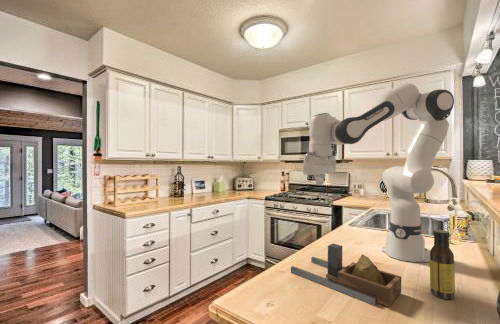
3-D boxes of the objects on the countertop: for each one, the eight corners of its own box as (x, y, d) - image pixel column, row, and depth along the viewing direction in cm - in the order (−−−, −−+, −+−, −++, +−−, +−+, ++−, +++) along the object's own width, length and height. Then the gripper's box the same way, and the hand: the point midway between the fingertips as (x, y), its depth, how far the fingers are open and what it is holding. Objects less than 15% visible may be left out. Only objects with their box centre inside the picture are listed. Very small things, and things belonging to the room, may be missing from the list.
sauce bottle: (457, 296, 80) (459, 232, 80) (450, 302, 76) (451, 235, 76) (433, 287, 85) (434, 227, 85) (425, 293, 81) (426, 230, 81)
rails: (312, 261, 106) (313, 256, 106) (392, 288, 85) (392, 282, 85) (290, 272, 96) (290, 266, 96) (375, 305, 74) (375, 298, 74)
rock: (397, 285, 82) (372, 268, 91) (388, 267, 79) (363, 251, 88) (374, 309, 80) (351, 289, 89) (363, 292, 77) (340, 273, 86)
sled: (337, 270, 97) (337, 241, 97) (401, 292, 81) (401, 257, 81) (321, 280, 89) (321, 248, 89) (388, 306, 73) (388, 267, 73)
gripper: (312, 151, 99) (312, 187, 100) (338, 152, 114) (338, 184, 114) (299, 151, 104) (298, 186, 104) (325, 152, 118) (325, 183, 118)
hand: (319, 185), depth 109 cm, fingers closed
